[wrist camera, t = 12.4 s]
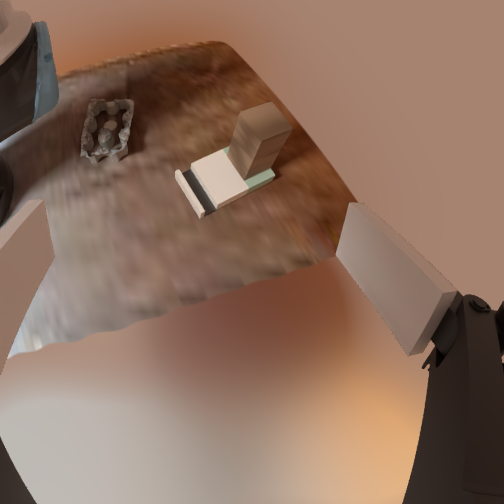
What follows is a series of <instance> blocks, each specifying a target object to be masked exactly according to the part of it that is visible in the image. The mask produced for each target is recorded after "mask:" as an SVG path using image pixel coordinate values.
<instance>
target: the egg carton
mask: <svg viewBox="0 0 504 504" xmlns="http://www.w3.org/2000/svg"><path fill="white" fill-rule="evenodd" d="M120 109H126V110H127V112H125V113H124V115H123V118H122V120H123V124H124V129H121V132H120V133H119V138H120V140H121V144H122V148H121V149H120V150H117V149H112V150H111V151H110V149H111V148H112V147H113V146H114V144H115V141H114V137H113V133H112V131H113V130H115V129H116V127H117V122H116V121H114V120H109V121H108V122H106V123H105V124H104V127H103V128H101V129H100V130H99V135H98V141H99V143H100V146H101V147H100V149H99V150H96V152H95V153H94V152H92V154H91V156H90V157H89V156H88V153H87V151H90V150H91V149H92V148H93V146H94V141H93V138H92V134H90V133H93V132H94V131H95V130H96V129H97V123H96V119H95V116H97V115H98V114H99V113H100V112H101V111H107V113H108V114H109V115H115V114H117V113H118V112H119V111H120ZM133 112H134V102H133V101H132V99H124V100H117V99H115V100H114V102H107V101H106V100H105V99H93V97H92V98H91V100H90V102H89V106H88V109H87V116H86V120H85V122H84V128H83V132H82V136H81V156H85V157H86V158H89V159H90V162H91V164H96V163H98V161H99V159H100V158H101V157H103V156H109V157H110V158H111V159H112V162H119V160H120V158H121V157H122V156H124V155H127V154H128V147H127V141H128V136H130V126H131V121H132V117H133Z"/></svg>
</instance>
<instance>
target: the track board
mask: <svg viewBox="0 0 504 504" xmlns="http://www.w3.org/2000/svg"><path fill="white" fill-rule="evenodd" d="M229 147H230V146H229ZM229 147H227V148H224V149H222V150H220V151H217V152H215V153H213V154H211V155H209V156H206V157H204V158H202V159H200V160H198V161H196V162H193V163H191V169H190V170H188V171H186V172H184V173H181V172H180V170H177V171H175V178H176V180H177V182H178V183H179V185H180V187H181V188H182V190H183V192H184V193H185V195H186V197H187V198H188V200H189V201H190V203H191V205H192V206H193V208H194V210H195V211H196V213H197V215H198V216H199V218H202V217H204V216H206V215H208V214H210V213H212V212H213V211H215V210H217V209H219V208H221V207H223V206H225V205H227V204H229V203H230V202H232V201H234V200H236V199H238V198H240V197H242V196H244V195H246V194H248V193H250V192H252V191H254V190H256V189H257V188H259V187H261V186H263V185H265V184H267V183H269V182H271V181H272V180H273V178H274V177H275V174H274V172H273V171H272V170H271V168H270V169H268V170H266V171H264V172H262V173H260V174H257V175H255V176H253V177H251V178H249V179H247V180H245V181H243V179H242V178H241V176H240V175H239V173H238V172H237V170H236V169H235V167H234V166H233V164H232V163H231V161H230V160H229V158H228V157H227V154H228V150H229Z"/></svg>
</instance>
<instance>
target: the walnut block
mask: <svg viewBox="0 0 504 504" xmlns="http://www.w3.org/2000/svg"><path fill="white" fill-rule="evenodd" d="M292 130H293V127H292V126H291V125H290V123H289V122H288V121H287V120H286V118H285V117H284V116H283V115H282V113H281V112H280V111H279V110H278V108H277V107H276V106H275V105H274V103H273V102H272V101H271V102H268V103H265V104H262V105H259V106H256V107H253V108H250V109H247V110H244V111H241V112H240V114H239V117H238V121H237V124H236V127H235V130H234V134H233V137H232V140H231V144H230V147H229V150H228V154H227V157H228V158H229V160H230V161H231V163H232V164H233V166H234V167H235V169H236V170H237V172H238V173H239V175H240V176H241V178H242V179H243V181H245V180H247V179H249V178H251V177H253V176H255V175H257V174H260V173H262V172H264V171H266V170H268V169H270V168H271V166H272V165H273V163H274V161H275V159H276V158H277V156H278V154H279V152H280V151H281V149H282V147H283V145H284V144H285V142H286V140H287V138H288V137H289V135H290V133H291V132H292Z"/></svg>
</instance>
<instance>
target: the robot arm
mask: <svg viewBox="0 0 504 504" xmlns="http://www.w3.org/2000/svg"><path fill="white" fill-rule="evenodd" d="M52 55H53V54H52V47H51V41H50V36H49V32H48V28H47V24H46V22H44V21H41V22H35V23H34V24H33V23H32V20H31V17H30V15H29V14H28V13H26V12H24V11H16V10H13V8H12V5H11V2H10V0H0V142H2V141H3V140H5V139H7V138H8V137H10V136H11V135H13V134H15V133H16V132H18V131H20V130H21V129H23V128H25V127H26V126H28V125H30V124H33V123H34V122H35V121H36V120H37V119H38V118H40V117H41V116H43V115H44V114H46V113H48V112H49V111H51V110H52V109H53V108H54V107H55V106H56V104H57V102H58V100H59V88H58V81H57V75H56V69H55V64H54V60H53V57H52ZM12 192H13V177H12V173H11V170H10V168H9V166H8V165H7V164H6V163H5V161H4V160H3V159H2V158H1V157H0V224H1V222H2V221H3V219H4V217H5V215H6V213H7V210H8V208H9V205H10V202H11V198H12ZM336 256H337V257H338V259H339V260H340V261H341V263H342V264H343V265H344V267H345V268H346V269H347V271H348V272H349V273H350V275H351V276H352V277H353V279H354V280H355V281H356V283H357V284H358V286H359V287H360V288H361V290H362V291H363V292H364V294H365V295H366V296H367V298H368V299H369V301H370V302H371V304H372V305H373V306H374V308H375V309H376V310H377V312H378V313H379V315H380V316H381V318H382V319H383V320H384V322H385V323H386V325H387V326H388V328H389V329H390V331H391V332H392V334H393V335H394V336H395V338H396V339H397V341H398V342H399V344H400V345H401V347H402V348H403V350H404V351H405V353H406V354H407V356H411V355H415V354H419V353H422V352H423V351H424V350H425V348H426V347H427V345H428V343H429V342H430V340H432V342H433V343H434V344H435V347H434V349H433V350H432V352H431V353H430V355H429V356H428V358H427V359H426V361H425V362H424V364H423V366H422V369H424V368H425V367H426V366H427V365H428V364H430V367H429V369H428V371H429V378H428V387H427V395H426V402H425V409H424V414H423V420H422V426H421V431H420V436H419V442H418V446H417V451H416V455H415V460H414V464H413V468H412V472H411V475H410V479H409V483H408V486H407V490H406V493H405V497H404V500H403V503H402V504H504V363H502V358H501V357H502V356H503V355H504V301H503V302H502V304H501V306H500V307H499V309H498V311H494V310H491V308H490V306H489V305H488V304H487V303H486V302H485V301H484V300H482V299H481V298H479V297H477V296H475V295H470V294H469V295H465V296H464V297H463V296H462V295H461V294H460V293H459V291H457V289H456V288H455V287H454V286H453V285H452V284H451V283H450V282H449V281H448V280H447V279H446V278H445V277H444V276H443V275H442V274H441V273H440V272H439V271H438V270H437V269H436V268H435V267H434V266H433V265H432V264H431V263H430V262H429V261H427V260H426V259H425V258H424V257H423V256H422V255H421V254H420V253H419V252H418V251H417V250H416V249H415V248H414V247H413V246H411V245H410V244H409V243H408V242H407V241H406V240H405V239H404V238H403V237H401V235H399V234H398V233H397V232H396V231H395V230H394V229H393V228H392V227H390V226H389V225H388V224H387V223H386V222H385V221H383V220H382V219H381V218H380V217H379V216H378V215H376V214H375V213H374V212H373V211H372V210H371V209H370V208H368V207H367V206H366V205H365V204H364V203H353V202H349V205H348V209H347V213H346V217H345V221H344V225H343V229H342V233H341V237H340V240H339V244H338V248H337V251H336ZM54 258H55V255H54V250H53V245H52V241H51V236H50V230H49V225H48V219H47V214H46V207H45V201H44V199H38V200H29V201H28V202H27V203H26V204H25V205H24V206H23V207H22V208H21V209H20V210H19V211H18V212H17V213H16V214H15V215H14V216H13V217H12V218H11V219H10V221H9V222H8V223H7V224H6V225H5V226H4V227H3V228H2V229H1V230H0V375H1V373H2V370H3V368H4V365H5V362H6V360H7V357H8V354H9V352H10V349H11V347H12V344H13V342H14V339H15V337H16V335H17V332H18V330H19V328H20V325H21V323H22V321H23V319H24V316H25V314H26V312H27V310H28V308H29V306H30V304H31V301H32V299H33V297H34V295H35V293H36V291H37V289H38V287H39V285H40V283H41V282H42V280H43V278H44V276H45V274H46V272H47V270H48V268H49V267H50V265H51V263H52V261H53V259H54ZM0 504H37V503H36V502H35V500H34V499H33V497H32V496H31V494H30V492H29V491H28V489H27V487H26V486H25V484H24V482H23V481H22V479H21V477H20V475H19V473H18V472H17V470H16V468H15V466H14V464H13V462H12V460H11V458H10V457H9V454H8V452H7V450H6V448H5V446H4V444H3V442H2V440H1V438H0Z"/></svg>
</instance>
